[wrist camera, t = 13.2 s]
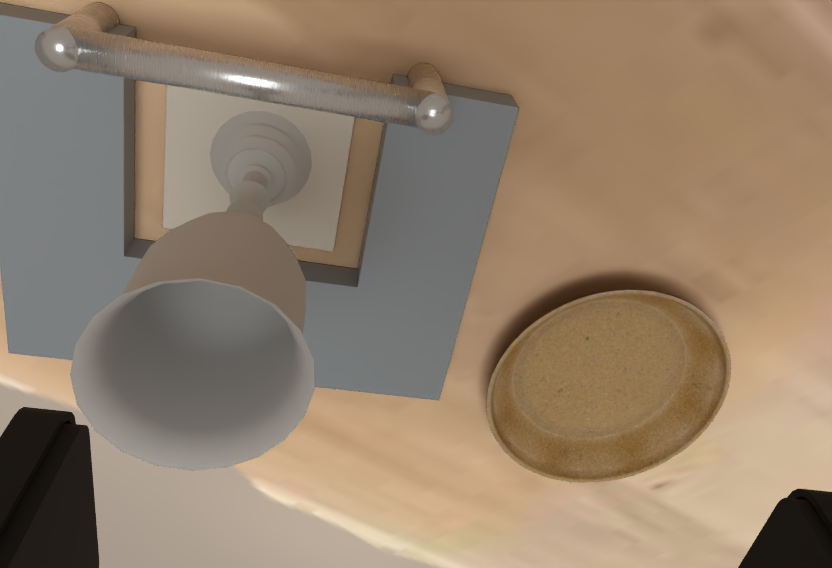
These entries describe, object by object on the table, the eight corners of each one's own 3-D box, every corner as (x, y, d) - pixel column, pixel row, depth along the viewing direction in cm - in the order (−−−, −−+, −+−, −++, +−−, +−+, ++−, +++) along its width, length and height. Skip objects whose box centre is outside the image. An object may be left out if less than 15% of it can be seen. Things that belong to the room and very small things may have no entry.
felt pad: (359, 88, 36) (359, 89, 35) (333, 249, 40) (333, 251, 40) (168, 55, 34) (167, 56, 34) (163, 225, 39) (162, 227, 38)
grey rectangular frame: (511, 95, 36) (519, 107, 35) (436, 379, 45) (439, 400, 43) (-5, 1, 32) (-25, 10, 31) (22, 332, 41) (8, 353, 40)
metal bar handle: (442, 66, 35) (457, 101, 30) (435, 98, 36) (448, 138, 31) (82, -1, 33) (33, 26, 28) (83, 35, 33) (35, 68, 28)
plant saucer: (583, 487, 51) (593, 516, 49) (431, 382, 46) (435, 409, 43) (758, 356, 46) (778, 382, 44) (613, 220, 41) (627, 241, 38)
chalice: (267, 247, 39) (212, 502, 24) (161, 165, 37) (21, 395, 21) (360, 154, 37) (364, 369, 22) (254, 59, 34) (172, 229, 19)
